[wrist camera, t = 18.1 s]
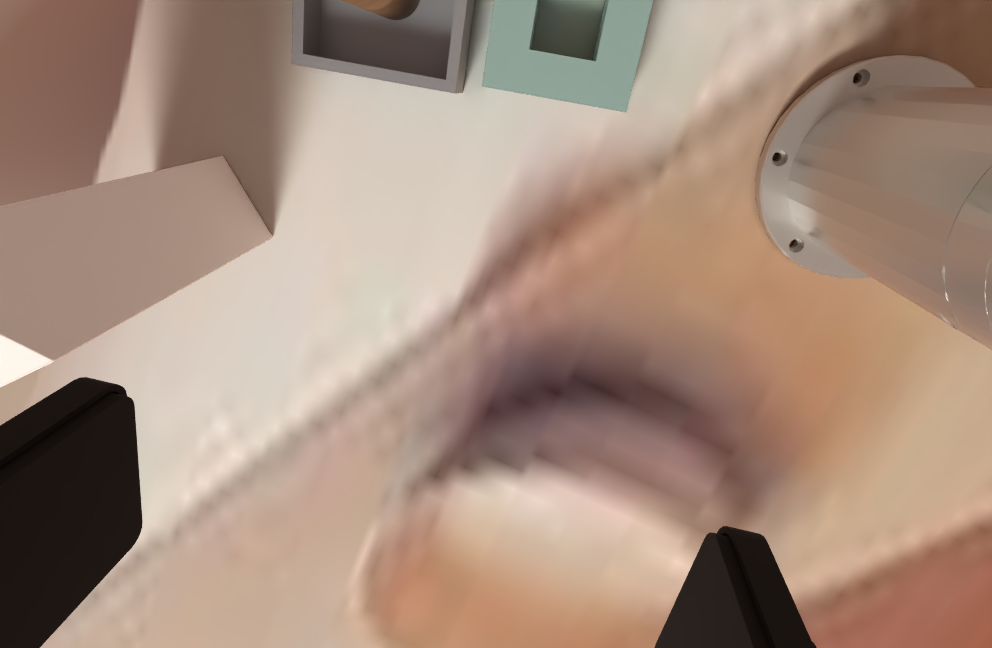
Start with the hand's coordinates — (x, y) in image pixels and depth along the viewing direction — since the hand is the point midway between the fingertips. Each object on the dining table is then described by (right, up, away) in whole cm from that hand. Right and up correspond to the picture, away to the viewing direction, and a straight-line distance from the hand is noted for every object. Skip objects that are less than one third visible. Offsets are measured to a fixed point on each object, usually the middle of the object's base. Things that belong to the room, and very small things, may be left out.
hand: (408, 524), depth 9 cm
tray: (-4, +22, +23) cm, 32 cm away
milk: (-18, +11, +30) cm, 36 cm away
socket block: (+6, +20, +23) cm, 31 cm away
